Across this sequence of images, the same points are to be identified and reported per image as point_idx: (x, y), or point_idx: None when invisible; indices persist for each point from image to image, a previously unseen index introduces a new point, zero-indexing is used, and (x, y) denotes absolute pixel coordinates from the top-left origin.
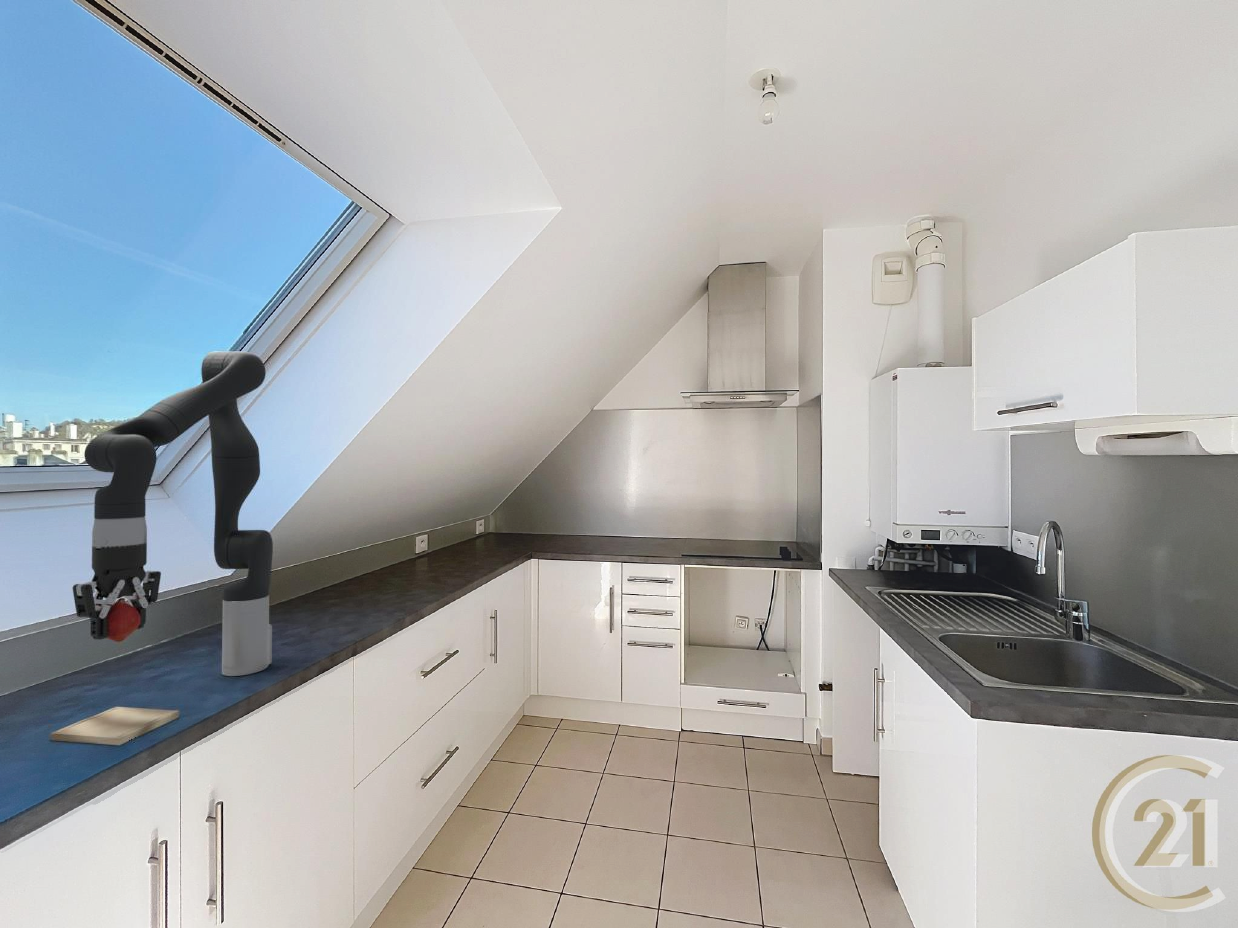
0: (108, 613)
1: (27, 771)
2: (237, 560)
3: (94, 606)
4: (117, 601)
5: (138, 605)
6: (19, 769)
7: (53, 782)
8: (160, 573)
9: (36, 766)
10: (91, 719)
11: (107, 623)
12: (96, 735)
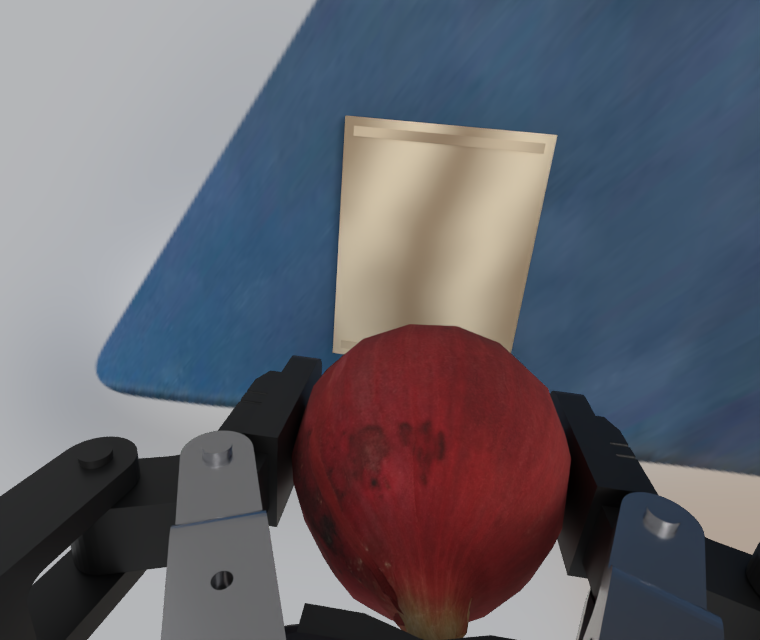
0: (310, 520)
1: (200, 244)
2: None
3: (84, 635)
4: (397, 615)
5: (595, 584)
6: (203, 214)
7: (178, 349)
8: None
9: (222, 241)
10: (447, 151)
11: (289, 492)
12: (343, 277)
